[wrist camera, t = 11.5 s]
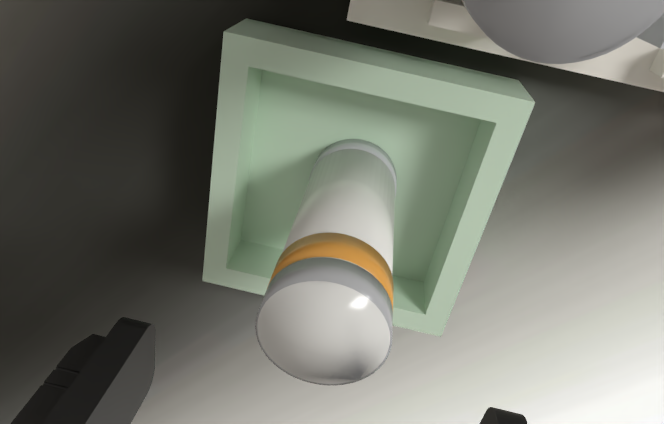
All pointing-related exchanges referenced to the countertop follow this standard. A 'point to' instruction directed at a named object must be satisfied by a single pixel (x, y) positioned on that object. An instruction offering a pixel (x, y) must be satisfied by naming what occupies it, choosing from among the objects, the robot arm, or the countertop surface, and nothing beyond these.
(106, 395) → the robot arm
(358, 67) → the tray
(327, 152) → the fuse marked
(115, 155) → the countertop surface
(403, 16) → the holder
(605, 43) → the cylinder
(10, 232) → the countertop surface
